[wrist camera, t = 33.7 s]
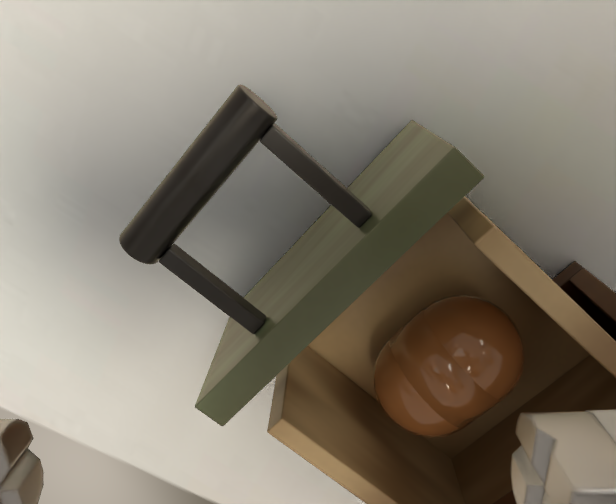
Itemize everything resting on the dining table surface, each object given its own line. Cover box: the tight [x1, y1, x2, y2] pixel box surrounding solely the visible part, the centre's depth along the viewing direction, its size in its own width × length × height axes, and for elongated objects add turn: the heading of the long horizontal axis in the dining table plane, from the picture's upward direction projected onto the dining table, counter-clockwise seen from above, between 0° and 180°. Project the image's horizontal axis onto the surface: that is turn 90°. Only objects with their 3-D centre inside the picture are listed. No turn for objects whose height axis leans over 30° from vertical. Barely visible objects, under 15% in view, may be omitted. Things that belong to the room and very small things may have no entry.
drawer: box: [119, 84, 616, 504], centre depth 18 cm, size 19×11×7 cm, turn 48°
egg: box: [373, 294, 525, 438], centre depth 19 cm, size 6×4×4 cm
